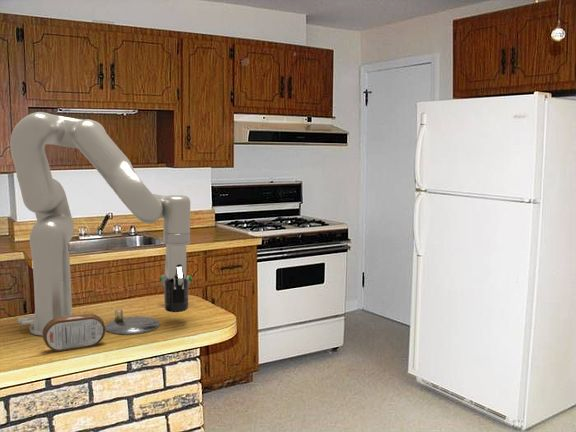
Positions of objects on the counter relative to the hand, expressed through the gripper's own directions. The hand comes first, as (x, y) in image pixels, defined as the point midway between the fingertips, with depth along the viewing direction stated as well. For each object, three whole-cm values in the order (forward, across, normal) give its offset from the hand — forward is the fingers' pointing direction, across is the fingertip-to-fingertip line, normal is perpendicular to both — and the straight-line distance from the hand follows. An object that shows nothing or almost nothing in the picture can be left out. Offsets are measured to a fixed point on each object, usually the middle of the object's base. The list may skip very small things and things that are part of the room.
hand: (176, 298), depth 168 cm
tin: (+8, +13, -27) cm, 31 cm away
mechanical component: (+8, -19, +3) cm, 21 cm away
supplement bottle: (+3, 0, 0) cm, 3 cm away
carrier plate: (+8, -1, -12) cm, 14 cm away
